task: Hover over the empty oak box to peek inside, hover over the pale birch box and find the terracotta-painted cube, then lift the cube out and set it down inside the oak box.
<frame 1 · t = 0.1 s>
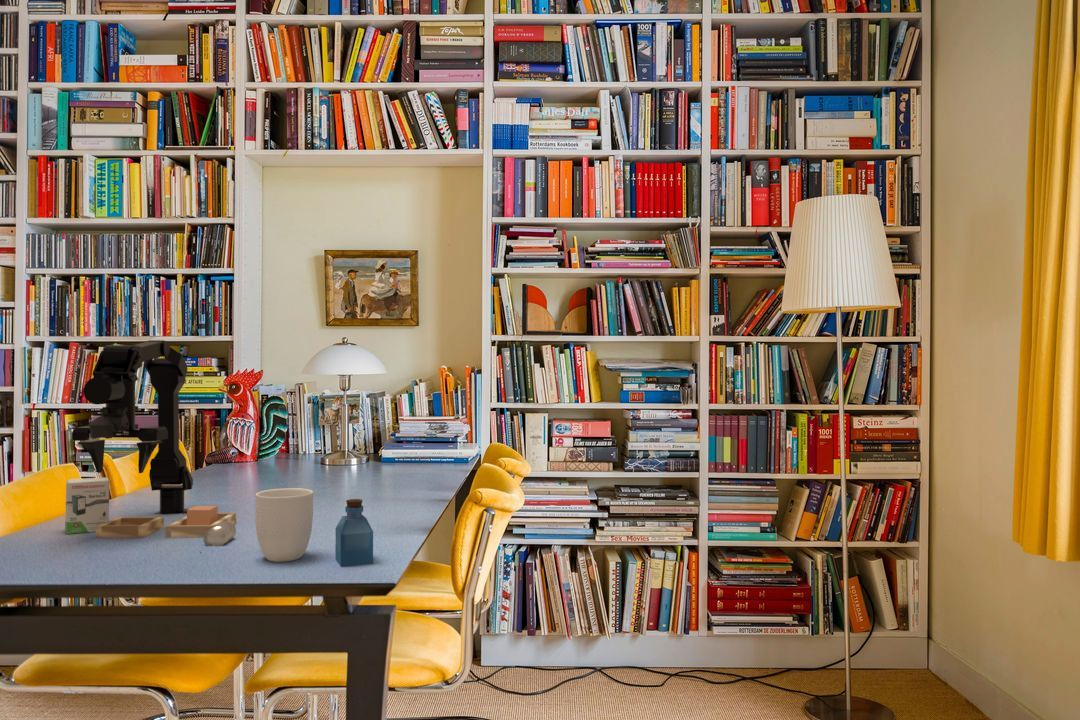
hand: (120, 472, 173), 14 cm above the table, fingers open, 9 cm apart
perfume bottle: (354, 562, 155), on the table
cube: (202, 529, 179), point 1 cm above the table, touching birch box
ink box: (87, 531, 181), on the table
mug: (281, 557, 158), on the table
tin can: (219, 545, 168), on the table
oak box: (130, 534, 176), on the table
birch box: (202, 532, 179), on the table
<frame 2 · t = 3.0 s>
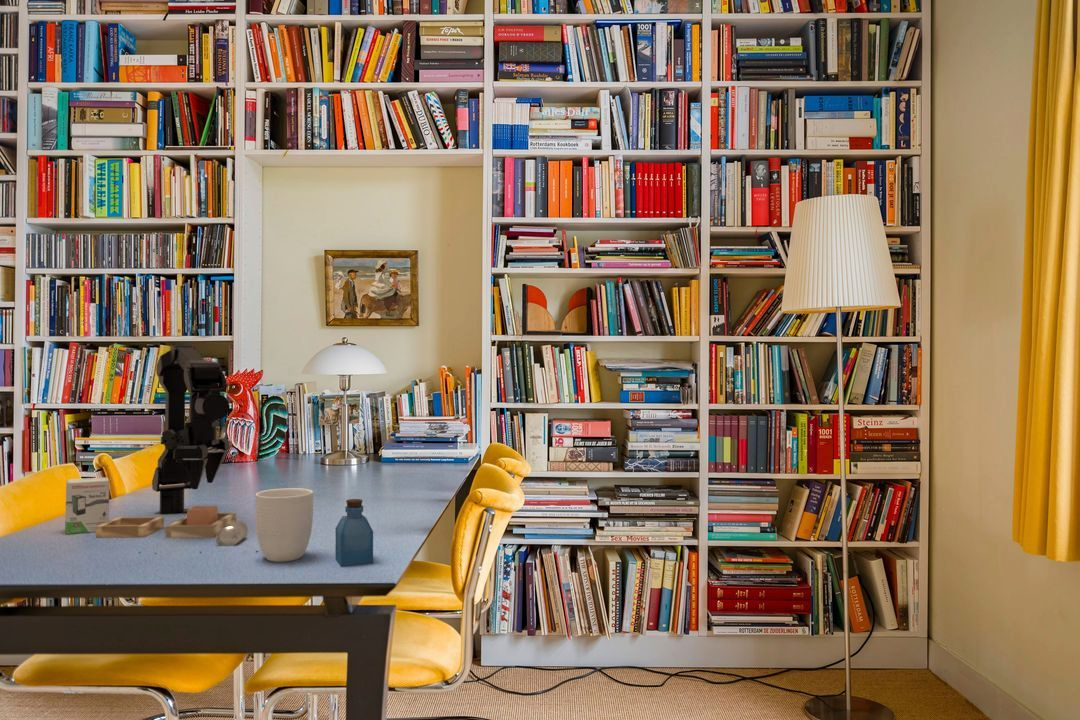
hand: (202, 485, 179), 11 cm above the table, fingers open, 9 cm apart
tin can: (222, 538, 168), point 1 cm above the table, tilted 70°
everything else where it was.
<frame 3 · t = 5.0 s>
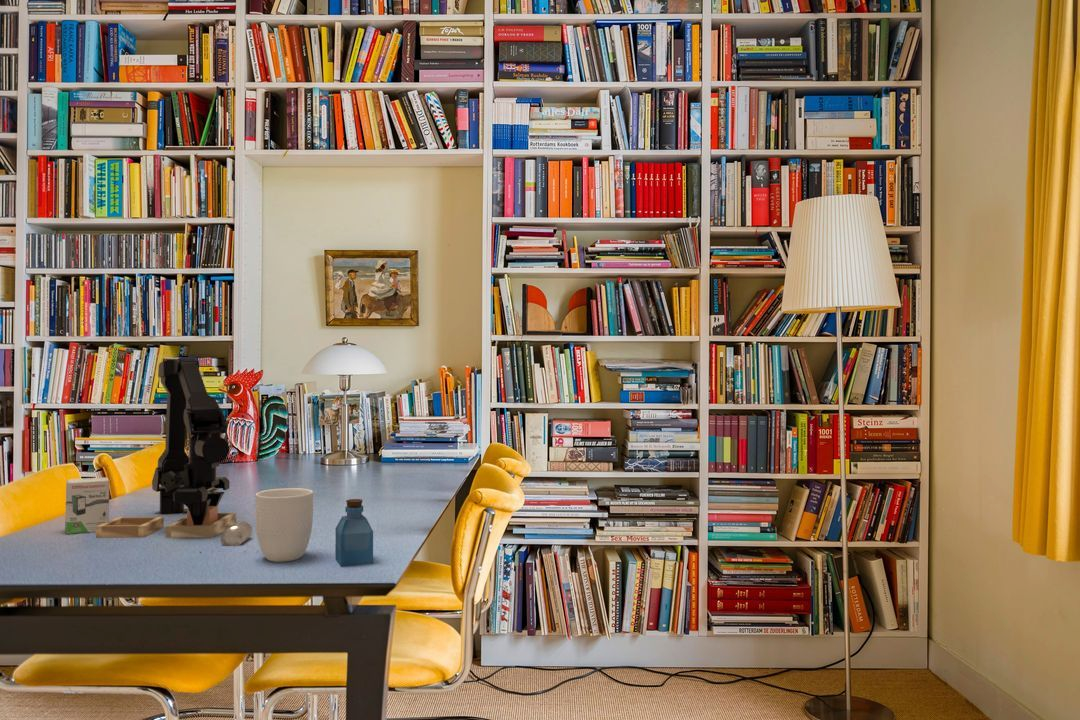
hand: (202, 526, 179), 1 cm above the table, fingers closed on cube, 5 cm apart
cube: (202, 529, 179), point 1 cm above the table, touching birch box, gripper
tin can: (226, 533, 168), point 2 cm above the table, tilted 96°
everything else where it was.
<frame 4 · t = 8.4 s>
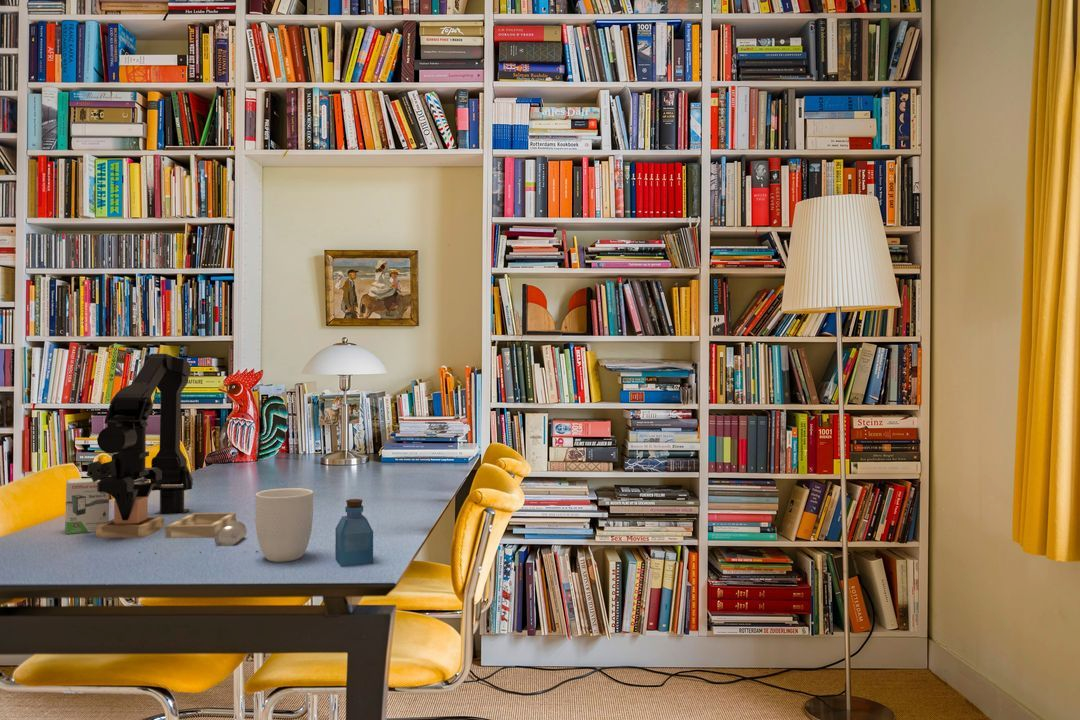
hand: (130, 517, 177), 4 cm above the table, fingers closed on cube, 5 cm apart
cube: (131, 520, 177), point 3 cm above the table, touching gripper
tin can: (221, 539, 168), point 1 cm above the table, tilted 63°
everything else where it was.
when the fingers open (4 cm above the table, at t = 9.1 s): cube drops 2 cm, resting on oak box.
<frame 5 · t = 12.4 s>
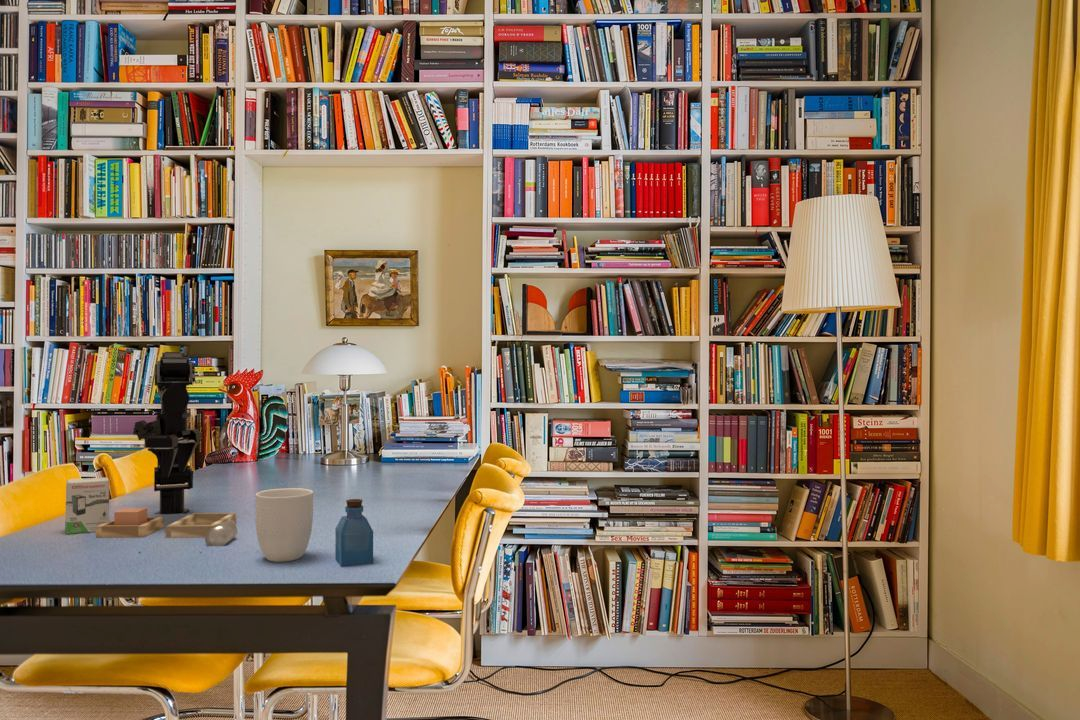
hand: (173, 474, 188), 12 cm above the table, fingers open, 9 cm apart
cube: (131, 532, 177), point 1 cm above the table, touching oak box
tin can: (219, 545, 168), on the table, tilted 10°
everything else where it was.
at the end: cube inside the target area on the oak box (0.1 cm from its centre), point 0.6 cm above the oak box's base; the gripper is holding nothing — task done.
